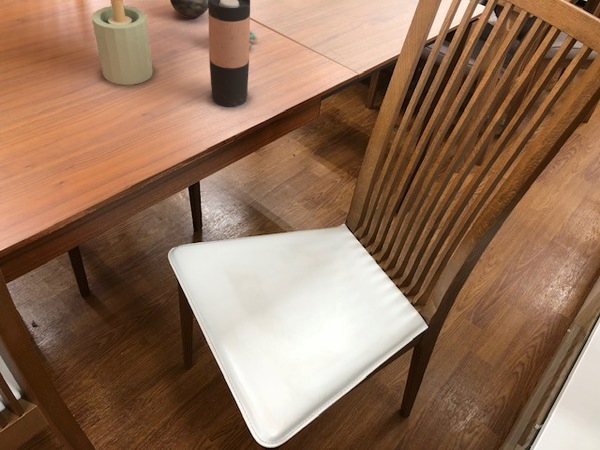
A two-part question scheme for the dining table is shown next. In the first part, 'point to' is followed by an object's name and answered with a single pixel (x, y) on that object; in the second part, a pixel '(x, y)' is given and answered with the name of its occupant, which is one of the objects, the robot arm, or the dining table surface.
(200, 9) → the decorative stone
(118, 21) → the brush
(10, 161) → the dining table surface
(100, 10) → the jar
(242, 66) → the travel mug
